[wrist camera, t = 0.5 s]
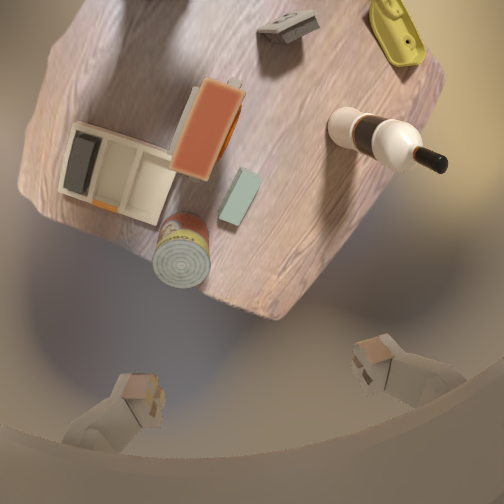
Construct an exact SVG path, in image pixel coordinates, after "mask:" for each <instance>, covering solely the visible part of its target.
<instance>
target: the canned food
mask: <svg viewBox="0 0 504 504" xmlns="http://www.w3.org/2000/svg"><path fill="white" fill-rule="evenodd" d="M152 267H153V270H154V273H155V275H156V276H157V278H158V279H159V280H161V281H162V282H163V283H165V284H166V285H168V286H171V287H174V288H180V289H186V288H191V287H194V286H197V285H199V284H200V283H202V282H203V281H204V280H205V279H206V277H207V276H208V274H209V272H210V267H211V263H210V255H209V231H208V228H207V225H206V224H205V222H204V221H203V220H202V219H201V218H200V217H198V216H196V215H194V214H191V213H186V212H181V213H176V214H173V215H171V216H170V217H168V218H167V219H166V220H165V221H164V222H163V224H162V226H161V228H160V233H159V237H158V241H157V245H156V249H155V253H154V255H153V259H152Z"/></svg>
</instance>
